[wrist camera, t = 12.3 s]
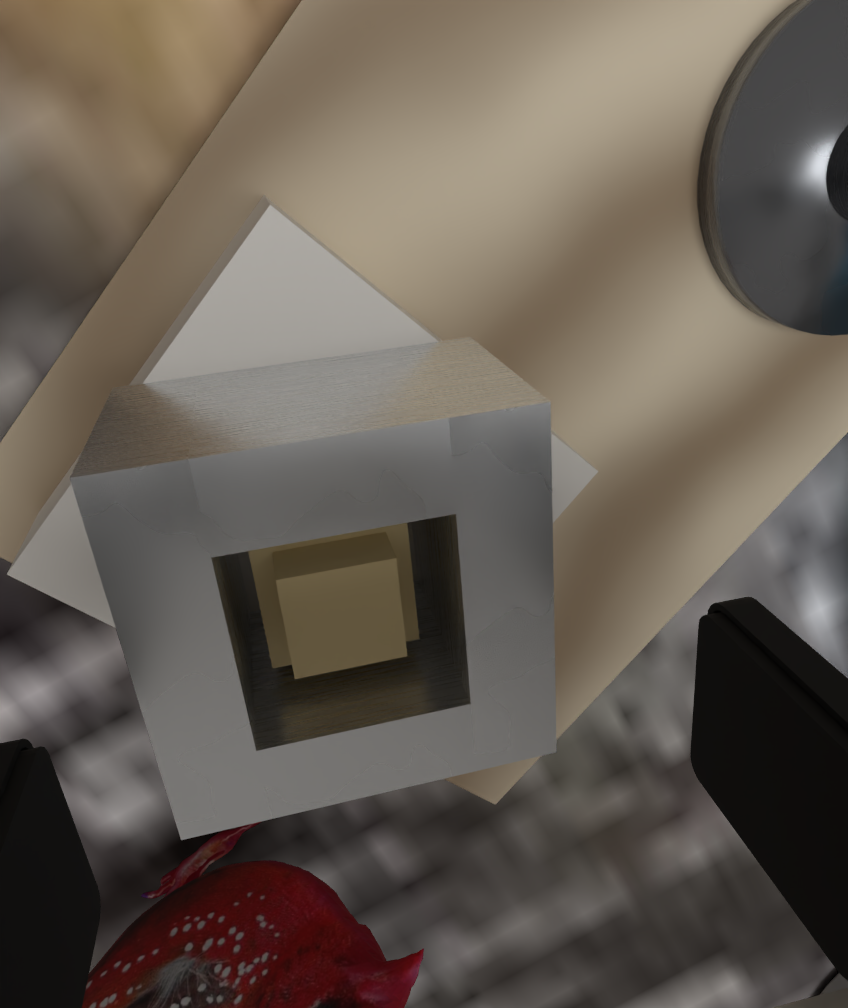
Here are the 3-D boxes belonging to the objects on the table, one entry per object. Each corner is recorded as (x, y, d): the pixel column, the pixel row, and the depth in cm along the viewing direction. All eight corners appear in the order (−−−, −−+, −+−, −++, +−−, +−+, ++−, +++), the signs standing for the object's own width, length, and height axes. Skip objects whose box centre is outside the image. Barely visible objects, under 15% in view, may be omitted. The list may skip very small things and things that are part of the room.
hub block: (550, 428, 21) (689, 552, 14) (341, 674, 22) (384, 879, 16) (264, 195, 17) (283, 225, 11) (38, 512, 19) (-58, 699, 12)
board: (1077, 133, 22) (1131, 132, 21) (482, 772, 27) (495, 804, 26) (687, -562, 15) (733, -634, 13) (-39, 501, 20) (-58, 528, 18)
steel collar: (470, 337, 16) (550, 402, 12) (487, 624, 19) (556, 752, 15) (113, 387, 15) (69, 477, 11) (192, 684, 18) (180, 840, 14)
